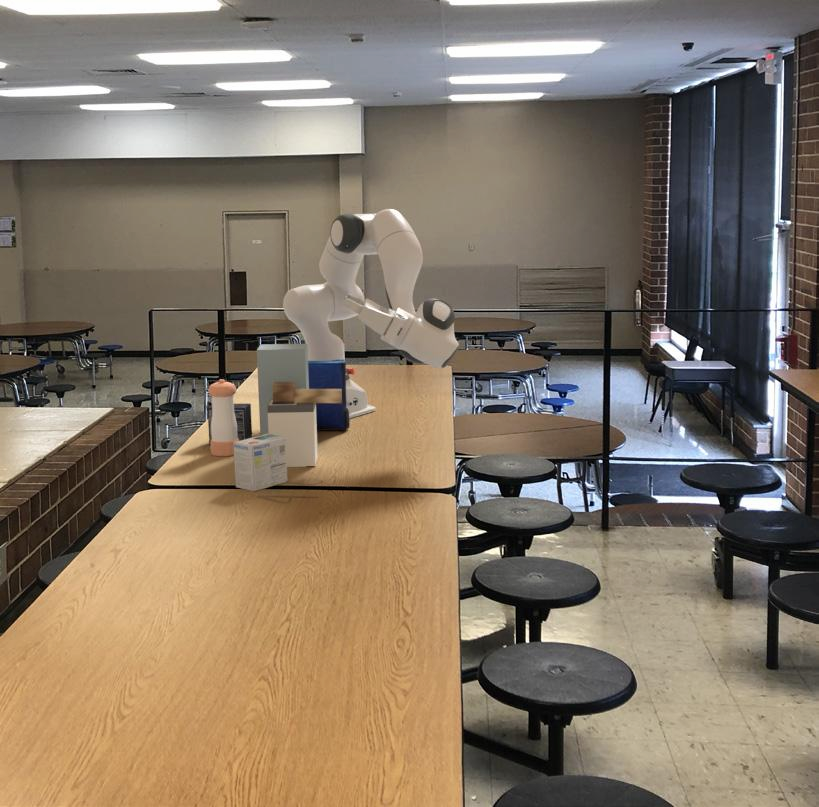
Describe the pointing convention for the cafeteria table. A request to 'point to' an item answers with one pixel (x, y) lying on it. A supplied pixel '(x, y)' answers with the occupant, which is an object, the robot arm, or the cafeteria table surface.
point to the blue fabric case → (330, 378)
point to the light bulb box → (260, 462)
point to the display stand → (279, 372)
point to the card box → (295, 431)
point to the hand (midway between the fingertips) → (344, 298)
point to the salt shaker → (223, 418)
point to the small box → (242, 420)
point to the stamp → (303, 394)
